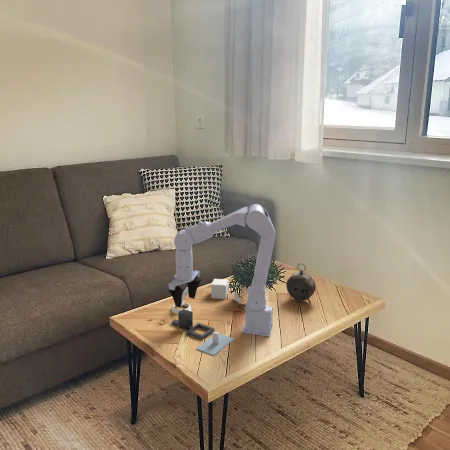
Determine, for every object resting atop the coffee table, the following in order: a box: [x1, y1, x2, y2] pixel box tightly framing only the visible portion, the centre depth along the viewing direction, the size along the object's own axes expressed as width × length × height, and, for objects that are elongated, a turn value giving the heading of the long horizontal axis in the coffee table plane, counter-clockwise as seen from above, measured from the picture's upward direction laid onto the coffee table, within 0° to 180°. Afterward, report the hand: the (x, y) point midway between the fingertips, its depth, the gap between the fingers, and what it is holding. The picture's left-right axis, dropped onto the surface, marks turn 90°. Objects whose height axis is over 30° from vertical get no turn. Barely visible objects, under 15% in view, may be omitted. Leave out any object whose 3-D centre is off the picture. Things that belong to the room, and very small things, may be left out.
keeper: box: [195, 331, 235, 356], centre depth 153 cm, size 7×12×4 cm, turn 146°
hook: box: [170, 286, 192, 315], centre depth 176 cm, size 8×12×7 cm
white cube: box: [210, 278, 230, 300], centre depth 189 cm, size 6×6×6 cm
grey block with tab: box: [171, 308, 216, 341], centre depth 162 cm, size 16×7×6 cm, turn 56°
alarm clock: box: [286, 263, 316, 304], centre depth 182 cm, size 11×5×16 cm, turn 58°
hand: (185, 301), depth 161 cm, fingers open, 7 cm apart
